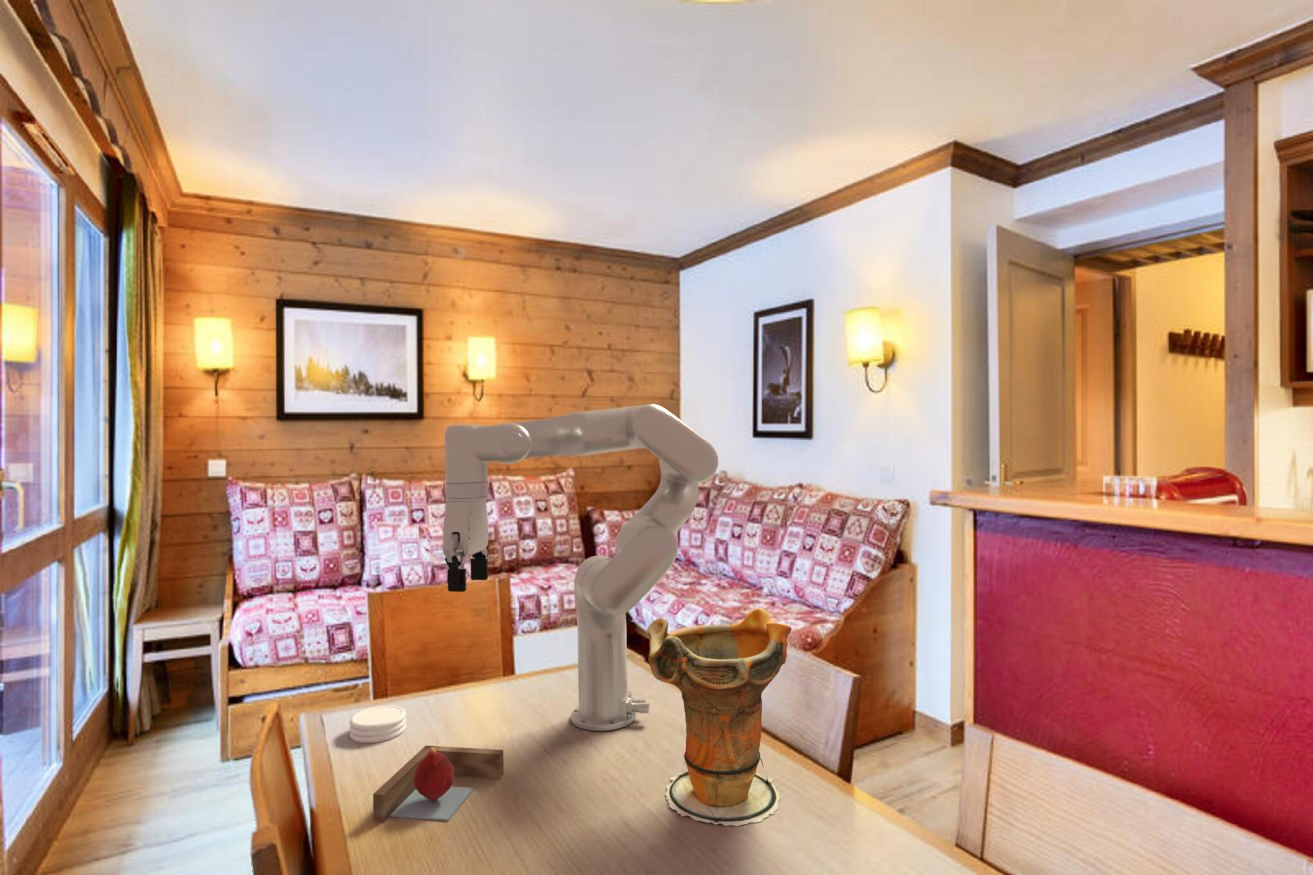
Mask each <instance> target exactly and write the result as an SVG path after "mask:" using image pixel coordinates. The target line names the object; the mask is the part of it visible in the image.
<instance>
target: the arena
mask: <svg viewBox="0 0 1313 875" xmlns="http://www.w3.org/2000/svg"><path fill="white" fill-rule="evenodd" d="M430 748H435V750H436V751H437V752H438V753H441V754H443V755H444V756H446V758H447V759H448V760H449V761H450V762H451V764H452V766H453V768H454V777H463V778H464V777H465V778H481V779H482V778H483V779H498V780H500V779H501V778H502V777H503V776H504V770H505V769H504V767H505V766H504V749H496V748H475V747H474V748H473V747H460V746H457V747H455V746H442V745H441V746H439V745H425V746H423V747H422V748H421V749H420V750H419V751H418V752H417V753H416V754H415V755H414V756H412V758H410V759H409V760H408V761H407V762H406V763H405V764H404V765H402V767H401V768H399V769H398V770H397V771H396V773H394V774H393V775H392V776H391V777H390V778H389V779H387V781H385V782H384V783H383V785H382V786H380V787H379V788H378V789H377V790H376V791H375V792H373V793H372V808H373V811H372V812H373V813H372V814H373V815H372V816H373V822H375V823H384V822H386V821H387V819H389V818H390V817H391V814H392V813H393V812H394V811H395V810H396V809H397V808H398V807H399V806H400V805H401V804H402V803H403V802H404V801H405V799H406V798H407V797H408V796H409V795H410V794H411V793H412V792H413V791H414V790H415V789H416V787H415V785H414V774H415V771H416V768H417V766H418V764H419V763H420V762H421V760H422V759H423V758H425V757H426V756H427V755H428V754H429V751H430Z"/></svg>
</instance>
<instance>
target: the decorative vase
mask: <svg viewBox="0 0 1313 875" xmlns="http://www.w3.org/2000/svg"><path fill="white" fill-rule="evenodd" d="M668 629H669V622H668V619H665V618H663V617H660V618H656V619H655V620H653V621H652V622H651V623H650V624H649V625H648V628H647V629H646V630H647V634H648V637H649V653H648V664H649V667H650V671H651V674H652V675H653V676H654V678H655V679H656V680H658V681H660V682H663V683H667V684H670V685H673V686H675V687H676V688H677V689H679V691H680V692H681V698H682V700H683V709H684V715H685V733H686V736H685V751H684V753H683V758H684V763H683V764H686V768H687V771H685V772H679V773H677V774H676V775H675V776H671V777H670V780H672V781H671V782H670V783H669V784H667V785H666V786H665V787H666V792H665V793H664V794H665V800H667V803H668V807H670V809H672V810H675V811H676V812H677V813H676V814H678V815H680V817H685V816H688V817H690V819H692V820H694V821H699V822H704V823H706V824H710V823H711V824H714V825H718V824H721V825H723V826H724V827H727V826H735V827H739V826H742V825H748V824H750V823H761V822H762V821H763V820H764V819H766V818H768V817H770V816H769V815H775V813H774V812H776V811H777V810H779V801H780V800H781V797H780V794H779V793H780V792H779V790H778V789H777V788H778V786H777V785H775V784H774V783H773V781H774V779H773V778H770V777H767V776H763V775H761V774H759V773H758V772H757V768H758V766H759V763H760V762H761V765H762V768H763V769H764V768H765V767H764V765H763V760H762V757H761V753H760V748H761V746H760V745H761V740H762V730H763V729H762V723H763V722H762V717H763V716H762V715H763V700H762V699H763V698H762V693H763V692H764V691H765V689H766V688H767V687H768V686H769V685H770V684H771V682H772V681H773V680H774V679H775V677H776V676H777V675H778V674H779V672H780V670H781V668H782V666H783V665H785V663H786V662H787V657H788V655H787V654H788V653H787V652H788V645H789V644H788V643H789V642H788V636H789V634H791V631H792V626H790V625H789V624H788V625H787V624H784V623H781V622H779V623H778V622H774V621H773V620H772V618H771V616H770V615H769V613H768V611H767V610H766V609H764V608H761V607H756V608H754V609H753V610H751V611H750V612H749V613H747V615H746V616H745V617H744V618H743V620H742V621H740V622H736V623H734V624H733V623H732V624H702V625H701V624H700V625H693V626H687V627H681V628H679V629H675V630H673V631H670V632H668Z"/></svg>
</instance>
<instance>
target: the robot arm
mask: <svg viewBox="0 0 1313 875" xmlns="http://www.w3.org/2000/svg"><path fill="white" fill-rule="evenodd" d="M635 449H636V450H637V449H647V450H648V451H650V452H651V453H652V454H653V455H654V456H656V457H657V458H658V459H659V468H660V482H659V485H658V488H657V489H656V491H655V492H654V493H653V495H652V496H651V497H650V498H649V499H648V500H647V502H646V503H644V505H643V506H642V507H641V508H640V509H639V510H638V511H637V512H636V513H635V514H634V515H633V516H632V517H631V518H630V519H629V520H628V521H627V522H626V523H625V524H624V525H623V526H622V527H621V528H620V530H619V531H618V533H617V535H616V538H615V539H616V540H615V547H616V550H617V553H616V554H614V556H613V557H612V558H611V557H609V556H606V555H593V556H590V557H588V558H586V559H585V560H584V561H583V562H581V564H580V565H579V566H578V568H577V570H576V572H575V576H574V581H573V591H574V599H575V600H574V601H575V607H576V622H577V623H576V624H577V674H578V676H577V679H578V706H576V707H575V708H574V709H573V710H572V711H571V713H570V719H571V720H570V721H571V723H572V724H573V725H575V727H578V728H580V729H583V730H588V731H595V732H596V731H597V732H604V731H605V732H606V731H611V730H612V731H613V730H618V729H621V728H624V727H625V728H626V726H628V725H630V724H632V723H633V722H634V721H635V720H636V713H639V714H649V713H650V708H651V707H650V702H646V699H645V698H642V699H641V698H639V699H638V698H637V699H636V698H634V697H632V691H631V690H628V657H627V656H628V655H627V652H628V650H627V649H628V648H627V647H628V646H627V641H628V640H627V637H628V636H627V632H628V631H627V619H626V618H627V617H626V613H628V612H629V611H630V610H632V609H634V608H635V607H636V606H637V604H638V603H639V602H641V601H642V599H644V597H645V596H646V595H647V594H648V593H649V592H650V591H651V590H652V589H653V588H654V587H655V586H656V584H657V583H658V582H659V581H660V580H661V579H662V578H663V577H664V576H665V575H666V573H668V571H669V570H670V569H671V567H672V566H673V565H674V563H675V561H676V559H677V556H678V552H679V542H678V538H677V535H676V534H677V533H679V532H678V531H679V530H680V529H681V528H682V527H683V526H684V525H685V524H686V523H687V521H688V520H689V519H690V517H691V515H692V514H693V513H694V510H695V507H696V505H697V502H698V497H699V484H701V483H705V482H706V481H708V480H710V479H711V478H713V476H714V475H715V474H716V471H717V470H718V466H719V457H718V454H717V451H716V449H715V448H714V446H713V445H712V443H710V442H709V441H708V440H707V439H706V438H704V437H703V436H702V435H700V434H699V433H698V432H696V431H695V430H694V429H693V428H691V426H690V427H689V425H687V424H686V423H685V422H683V421H682V420H681V419H679V417H677V416H676V415H674V414H673V413H672V412H670V411H669V410H667V409H666V408H664V407H663V406H660V405H658V404H653V403H648V404H643V405H642V404H640V405H632V406H624V407H614V408H606V409H597V410H596V409H595V410H589V411H578V412H573V413H567V414H566V413H565V414H562V415H559V416H555V417H554V416H553V417H550V418H543V419H535V420H534V419H533V420H526V421H524V420H523V421H517V422H505V423H504V422H502V423H499V424H490V425H481V424H453V425H448V427H446V429H445V430H444V472H445V473H444V476H445V479H444V480H445V481H444V483H445V485H444V486H445V501H446V502H445V507H444V508H445V509H444V513H443V514H444V515H443V529H442V530H443V534H442V535H443V536H442V538H443V539H442V540H443V541H442V553H443V555H444V557H445V558H444V561H445V563H446V565H445V568H446V570H447V591H448V592H451V593H452V592H455V593H456V592H457V593H464V592H466V591H467V568H465V564H466V560H467V557H472V558H470V579H471V580H472V581H486V580H488V578H489V567H488V566H489V563H488V557H489V552H488V549H489V539H490V532H489V522H488V509H487V502H486V501H487V500H489V482H488V481H489V480H488V478H489V475H488V474H489V472H488V470H489V468H488V463H499V464H507V465H508V464H511V465H512V464H516V463H519V462H521V461H523V460H527V459H534V458H543V457H544V458H545V457H554V456H555V457H556V456H562V457H564V456H565V457H584V456H593V455H597V454H599V455H600V454H607V453H608V454H609V453H614V452H621V451H630V450H635Z"/></svg>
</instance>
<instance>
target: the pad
mask: <svg viewBox="0 0 1313 875" xmlns="http://www.w3.org/2000/svg"><path fill="white" fill-rule="evenodd" d="M474 790H475V788H474V787H466V786H465V787H462V786H453V785H451V787H450V789H449V790H448V791H447V792H446V793H445V794H444V795H443V796H441V797H440V798H439V799H437V800H436V801H431V800H429V799H427V798H425V797H424V796H423V795H421V794H419V792H418V791H417V789H415V790H414V791H413V792H412V793H411V794H410V795H409V796H408V797H407V798H406V799H405V801H404V802H403V803H402V804H401V805H400V806H399V807H398V808H397V809H396V810H395V811H394V812H393V813H392V814H391V816H390V817H391V818H400V819H401V818H403V819H416V820H430V821H443V822H449V821H450V820H451V818H452V817H453V816H454V815H455V813H456V812H457V811H458V810H459V808H460V807H462V805H463V804H464V803H465V801H467V799H468V798H469V796H470V795H471V794H472V793H473V792H474Z"/></svg>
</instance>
